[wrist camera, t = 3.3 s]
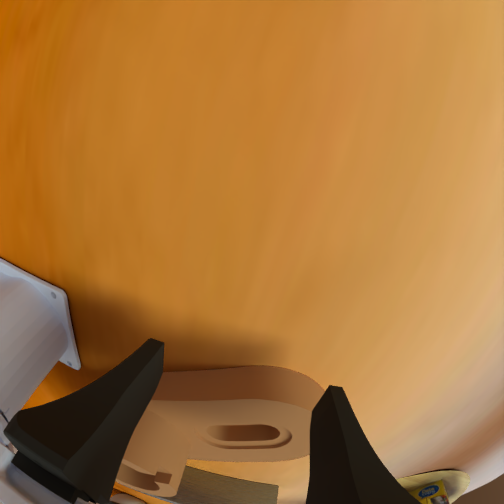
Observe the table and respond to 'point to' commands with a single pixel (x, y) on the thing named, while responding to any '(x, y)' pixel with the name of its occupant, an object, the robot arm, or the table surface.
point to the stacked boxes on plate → (436, 486)
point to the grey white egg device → (124, 499)
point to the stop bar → (219, 490)
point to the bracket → (219, 423)
